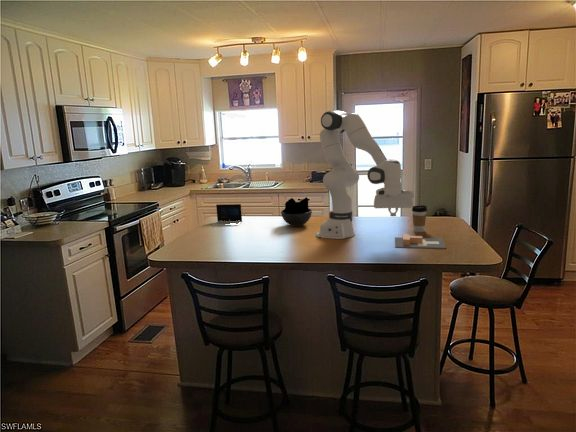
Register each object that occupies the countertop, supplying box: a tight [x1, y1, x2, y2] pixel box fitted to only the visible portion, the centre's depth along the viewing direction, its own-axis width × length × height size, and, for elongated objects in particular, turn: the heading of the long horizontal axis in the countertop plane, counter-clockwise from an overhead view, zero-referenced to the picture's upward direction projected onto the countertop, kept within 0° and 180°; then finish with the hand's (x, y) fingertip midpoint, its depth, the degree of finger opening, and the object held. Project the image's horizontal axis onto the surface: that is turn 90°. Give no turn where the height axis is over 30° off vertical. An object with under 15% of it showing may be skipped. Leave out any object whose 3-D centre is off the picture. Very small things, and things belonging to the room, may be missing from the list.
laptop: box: [211, 203, 243, 227], centre depth 290 cm, size 18×12×13 cm
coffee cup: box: [411, 204, 428, 233], centre depth 249 cm, size 8×8×15 cm
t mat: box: [394, 236, 447, 250], centre depth 226 cm, size 25×18×1 cm
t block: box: [402, 233, 423, 245], centre depth 226 cm, size 10×11×3 cm
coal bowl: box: [280, 196, 313, 227], centre depth 275 cm, size 20×20×19 cm
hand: (393, 216), depth 226 cm, fingers closed
